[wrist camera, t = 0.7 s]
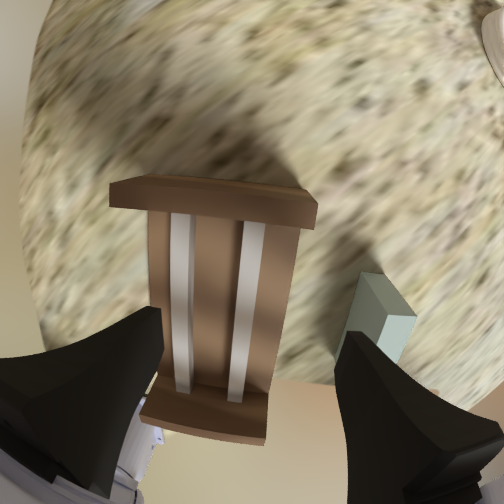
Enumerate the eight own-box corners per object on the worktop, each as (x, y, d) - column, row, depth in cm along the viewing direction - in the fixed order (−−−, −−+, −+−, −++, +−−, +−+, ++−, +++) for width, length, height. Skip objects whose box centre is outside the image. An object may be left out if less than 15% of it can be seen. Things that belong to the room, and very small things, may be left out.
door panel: (355, 358, 22) (371, 409, 16) (334, 357, 22) (345, 410, 17) (384, 274, 19) (417, 316, 14) (360, 271, 19) (388, 314, 14)
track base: (266, 394, 24) (263, 445, 18) (162, 376, 24) (141, 422, 19) (304, 187, 18) (318, 203, 12) (155, 172, 18) (109, 183, 13)
